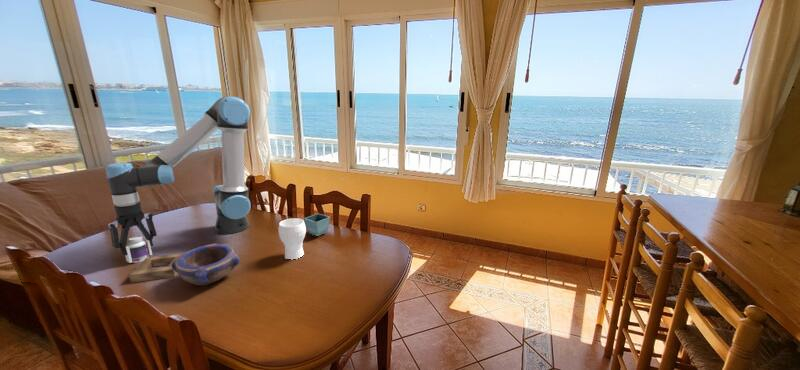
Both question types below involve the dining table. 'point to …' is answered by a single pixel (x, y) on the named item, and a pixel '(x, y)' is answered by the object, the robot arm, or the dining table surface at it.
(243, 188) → the robot arm
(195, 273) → the bowl
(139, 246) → the pill bottle
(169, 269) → the brown square frame
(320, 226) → the flower pot
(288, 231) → the cup
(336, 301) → the dining table surface
